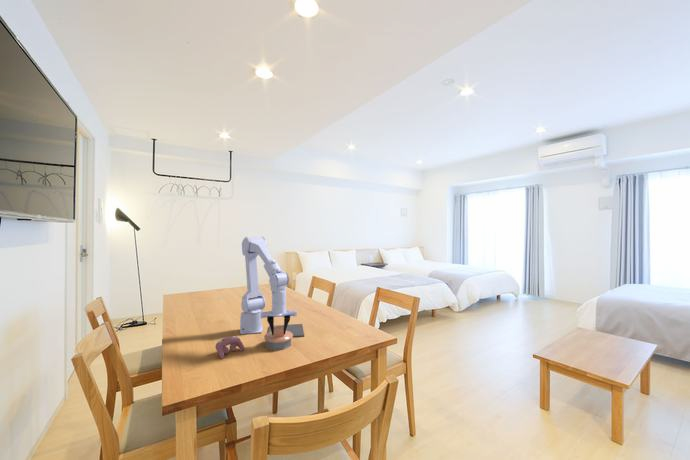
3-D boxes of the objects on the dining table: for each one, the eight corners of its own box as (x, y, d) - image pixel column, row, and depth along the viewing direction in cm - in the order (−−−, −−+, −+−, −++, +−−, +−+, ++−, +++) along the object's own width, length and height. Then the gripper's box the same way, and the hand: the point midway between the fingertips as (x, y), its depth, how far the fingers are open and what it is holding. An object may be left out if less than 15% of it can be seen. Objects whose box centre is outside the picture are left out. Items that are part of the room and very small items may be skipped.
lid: (263, 343, 113) (263, 333, 113) (265, 332, 124) (265, 323, 124) (293, 341, 115) (293, 331, 115) (292, 331, 126) (292, 321, 126)
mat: (267, 339, 125) (267, 337, 125) (269, 326, 140) (269, 325, 140) (304, 336, 128) (304, 335, 128) (302, 325, 143) (302, 323, 143)
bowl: (265, 350, 114) (265, 343, 114) (267, 340, 124) (267, 333, 123) (291, 348, 116) (291, 341, 116) (290, 338, 126) (290, 332, 126)
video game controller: (240, 351, 116) (236, 334, 118) (245, 349, 113) (241, 332, 115) (216, 360, 108) (212, 342, 110) (222, 358, 106) (217, 339, 107)
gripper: (260, 305, 114) (259, 338, 114) (296, 303, 117) (296, 336, 117) (261, 300, 121) (261, 332, 121) (296, 298, 124) (296, 330, 124)
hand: (278, 333), depth 120 cm, fingers closed on lid, 4 cm apart
